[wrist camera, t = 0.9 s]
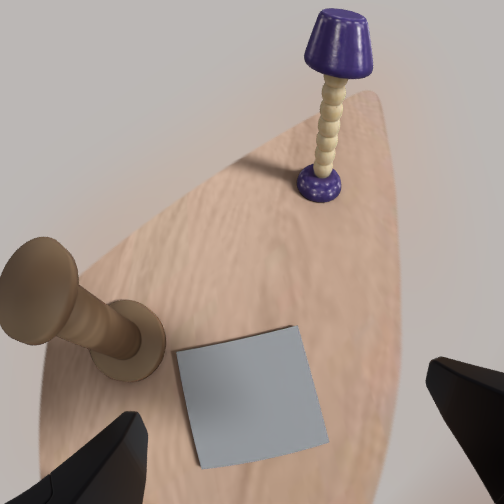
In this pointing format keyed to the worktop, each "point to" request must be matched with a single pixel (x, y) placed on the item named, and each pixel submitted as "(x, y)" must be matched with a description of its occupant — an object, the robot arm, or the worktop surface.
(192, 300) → the worktop surface
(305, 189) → the toy lamp
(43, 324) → the walnut stool
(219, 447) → the grey mat
